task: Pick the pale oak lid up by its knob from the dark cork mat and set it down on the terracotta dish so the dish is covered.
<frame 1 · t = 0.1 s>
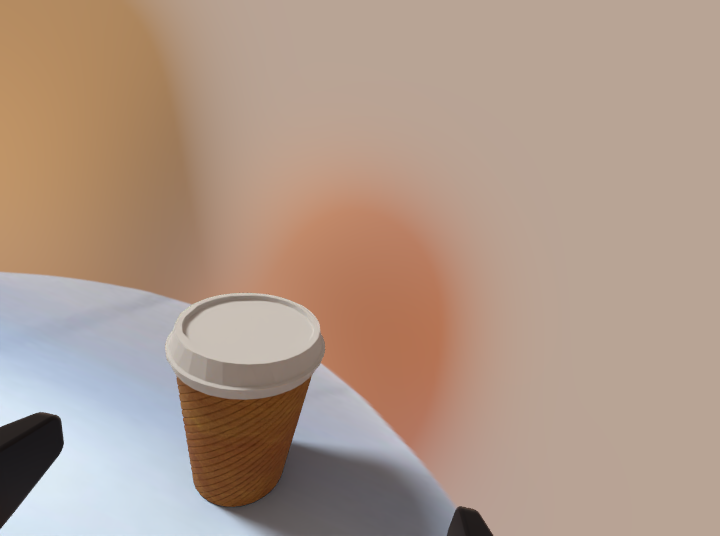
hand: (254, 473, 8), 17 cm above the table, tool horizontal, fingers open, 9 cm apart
disposable coffee cup: (239, 468, 27), on the table
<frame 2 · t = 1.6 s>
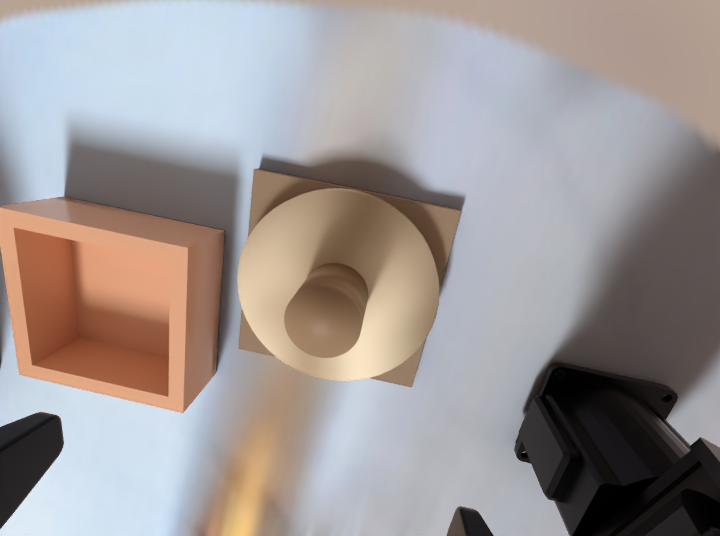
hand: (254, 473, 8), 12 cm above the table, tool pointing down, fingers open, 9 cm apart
lid: (339, 286, 19), point 1 cm above the table, touching mat
mat: (340, 282, 19), on the table
dish: (144, 290, 21), on the table
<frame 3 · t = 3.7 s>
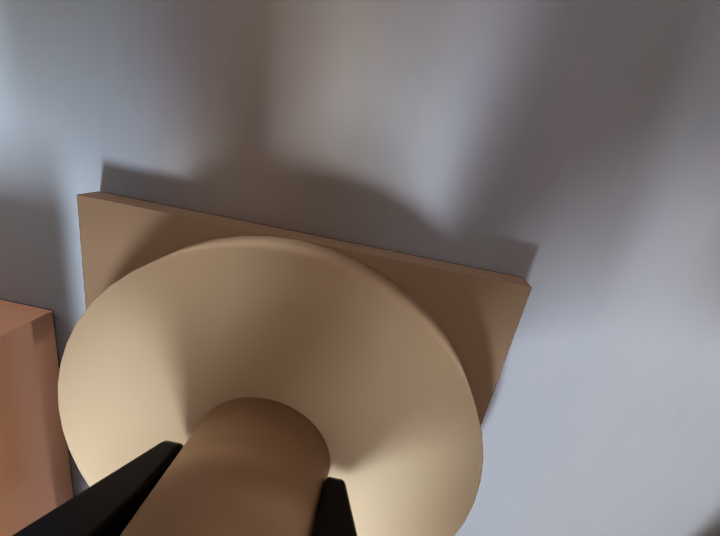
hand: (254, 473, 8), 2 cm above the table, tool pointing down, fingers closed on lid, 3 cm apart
lid: (275, 423, 9), point 1 cm above the table, touching gripper, mat
mat: (282, 407, 10), on the table
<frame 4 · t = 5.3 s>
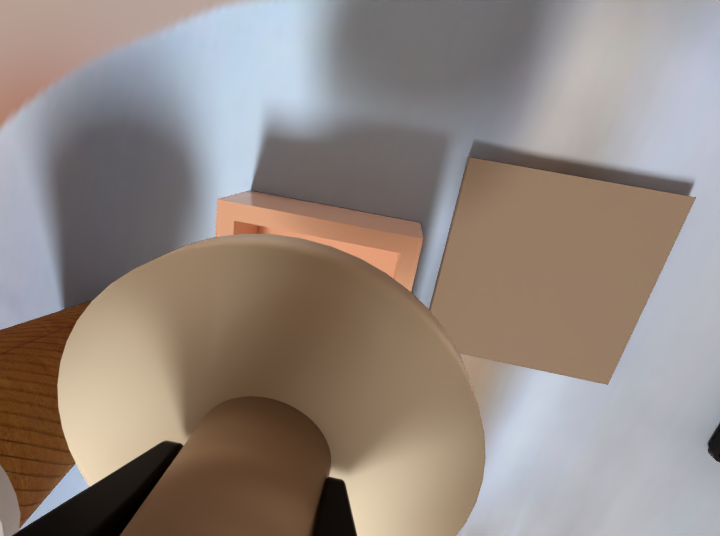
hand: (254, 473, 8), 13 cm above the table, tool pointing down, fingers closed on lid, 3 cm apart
disposable coffee cup: (113, 344, 23), on the table
lid: (276, 422, 9), point 11 cm above the table, touching gripper
mat: (539, 275, 18), on the table
dish: (322, 286, 20), on the table
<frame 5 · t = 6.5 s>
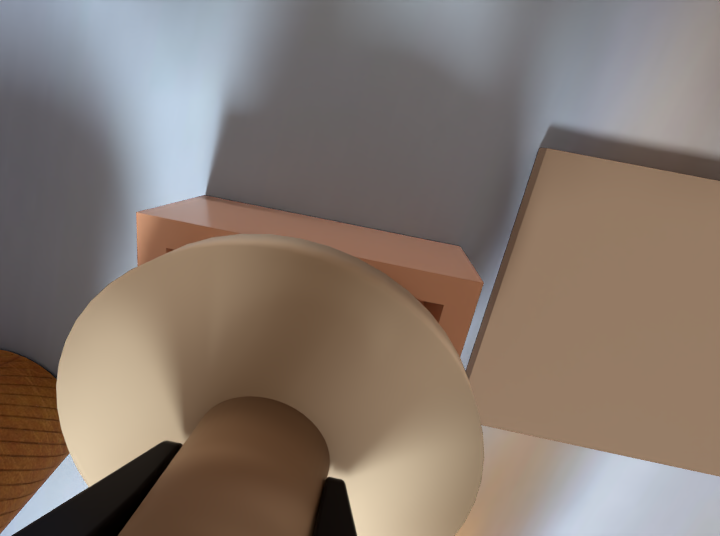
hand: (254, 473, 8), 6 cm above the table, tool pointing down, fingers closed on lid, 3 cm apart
disposable coffee cup: (21, 404, 17), on the table
lid: (275, 422, 9), point 5 cm above the table, touching gripper
mat: (633, 324, 13), on the table
dish: (313, 333, 14), on the table
when the fingers open (6 cm above the table, at t = 7.1 s): lid drops 1 cm, resting on dish.
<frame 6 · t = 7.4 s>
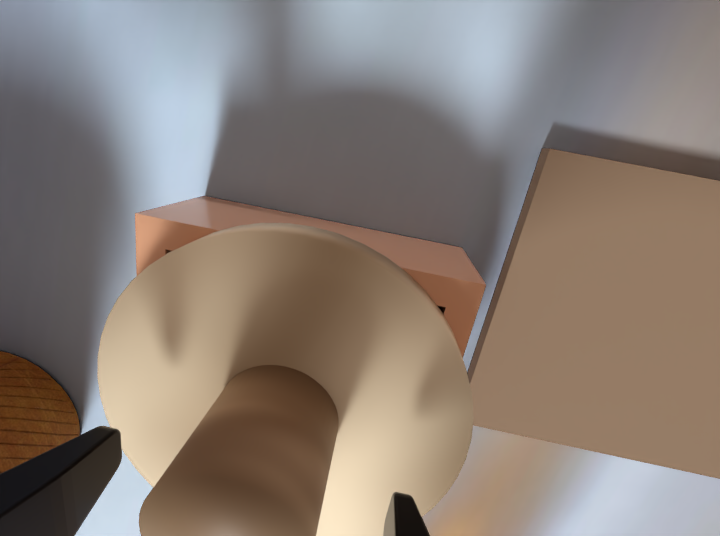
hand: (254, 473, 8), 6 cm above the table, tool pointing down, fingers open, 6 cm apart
disposable coffee cup: (20, 406, 17), on the table
lid: (289, 392, 10), point 3 cm above the table, touching dish
mat: (636, 326, 12), on the table
dish: (313, 335, 14), on the table
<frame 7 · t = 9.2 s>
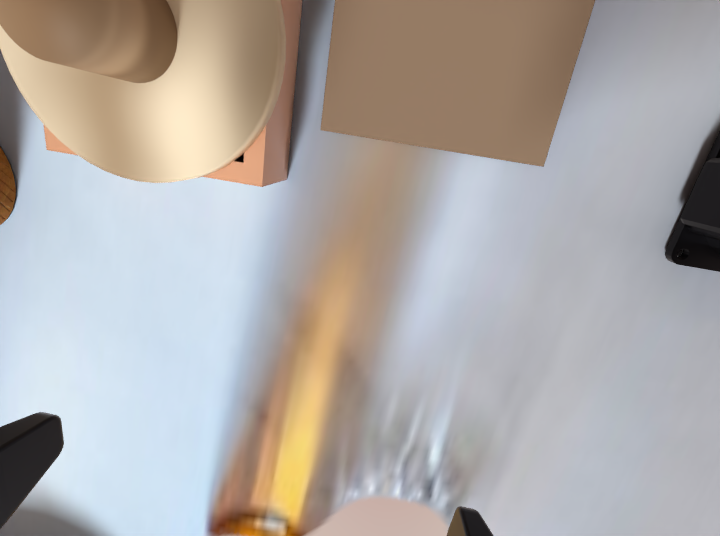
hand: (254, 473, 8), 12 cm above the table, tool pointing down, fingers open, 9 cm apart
lid: (150, 38, 13), point 3 cm above the table, touching dish
mat: (455, 22, 15), on the table
dish: (198, 62, 16), on the table
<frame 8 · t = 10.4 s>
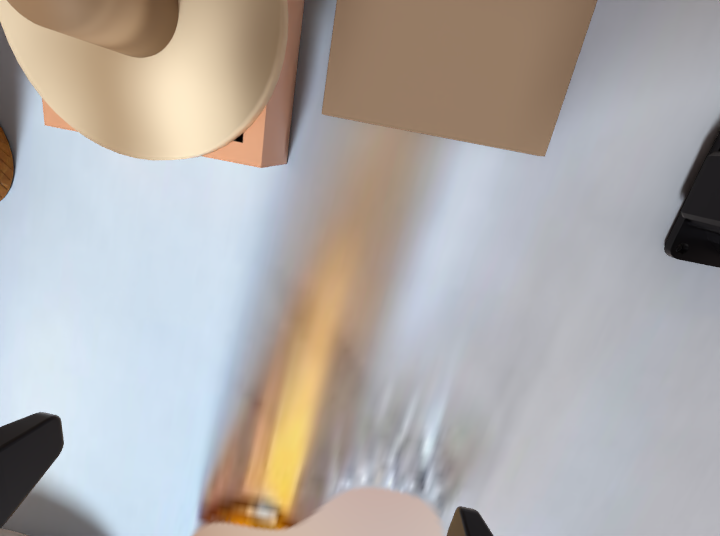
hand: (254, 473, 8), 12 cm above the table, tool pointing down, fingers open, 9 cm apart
lid: (151, 13, 13), point 3 cm above the table, touching dish
mat: (460, 8, 15), on the table
dish: (200, 42, 16), on the table
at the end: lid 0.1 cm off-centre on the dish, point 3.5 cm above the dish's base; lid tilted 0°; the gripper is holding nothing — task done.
